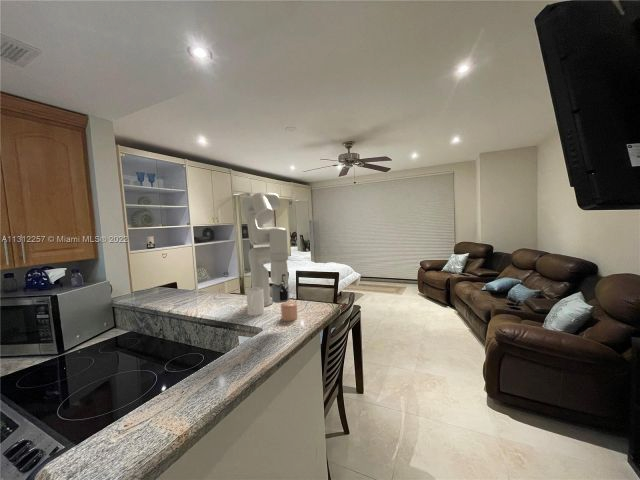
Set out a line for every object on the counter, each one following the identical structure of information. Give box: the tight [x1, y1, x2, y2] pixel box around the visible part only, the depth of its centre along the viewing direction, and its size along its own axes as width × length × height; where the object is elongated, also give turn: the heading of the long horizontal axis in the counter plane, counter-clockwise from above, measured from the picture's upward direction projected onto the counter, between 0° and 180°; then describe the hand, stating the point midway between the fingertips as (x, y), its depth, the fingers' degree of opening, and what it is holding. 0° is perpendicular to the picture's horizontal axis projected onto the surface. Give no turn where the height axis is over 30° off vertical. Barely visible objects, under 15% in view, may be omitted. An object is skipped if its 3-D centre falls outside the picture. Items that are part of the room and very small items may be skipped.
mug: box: [246, 287, 266, 317], centre depth 125 cm, size 12×8×12 cm
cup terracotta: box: [280, 301, 298, 322], centre depth 118 cm, size 7×7×6 cm
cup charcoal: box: [271, 283, 290, 304], centre depth 109 cm, size 7×7×6 cm
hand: (280, 297), depth 109 cm, fingers closed on cup charcoal, 7 cm apart
